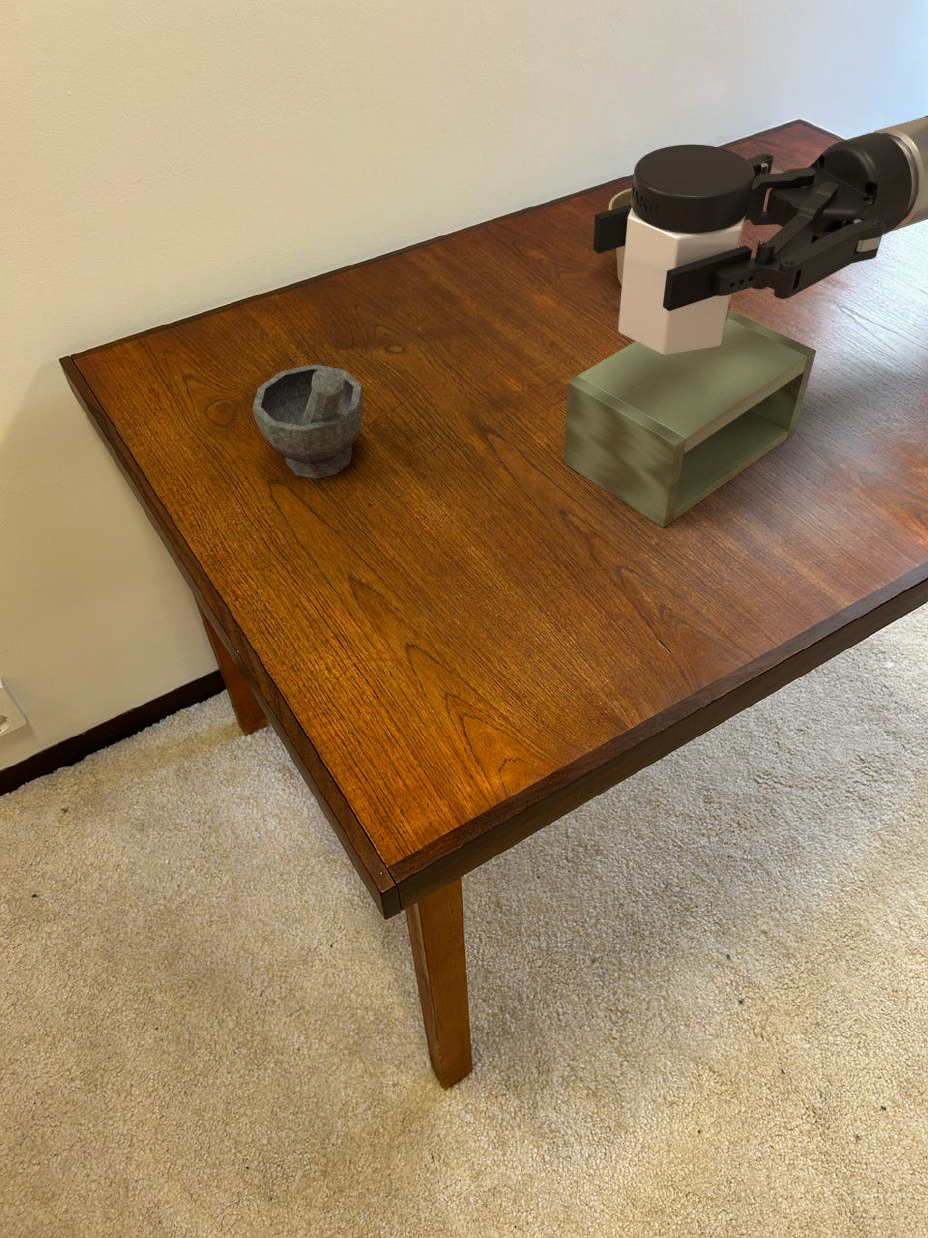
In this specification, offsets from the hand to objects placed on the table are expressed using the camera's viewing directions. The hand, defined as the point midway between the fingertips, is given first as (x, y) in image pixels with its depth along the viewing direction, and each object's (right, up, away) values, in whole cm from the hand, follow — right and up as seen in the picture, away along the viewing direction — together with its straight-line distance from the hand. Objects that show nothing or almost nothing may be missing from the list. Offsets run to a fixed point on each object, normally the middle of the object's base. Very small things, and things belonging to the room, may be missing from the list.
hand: (631, 261), depth 69 cm
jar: (+4, -3, +6) cm, 8 cm away
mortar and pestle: (-25, -11, +22) cm, 35 cm away
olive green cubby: (+8, -10, +21) cm, 24 cm away
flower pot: (+9, +13, +41) cm, 43 cm away
